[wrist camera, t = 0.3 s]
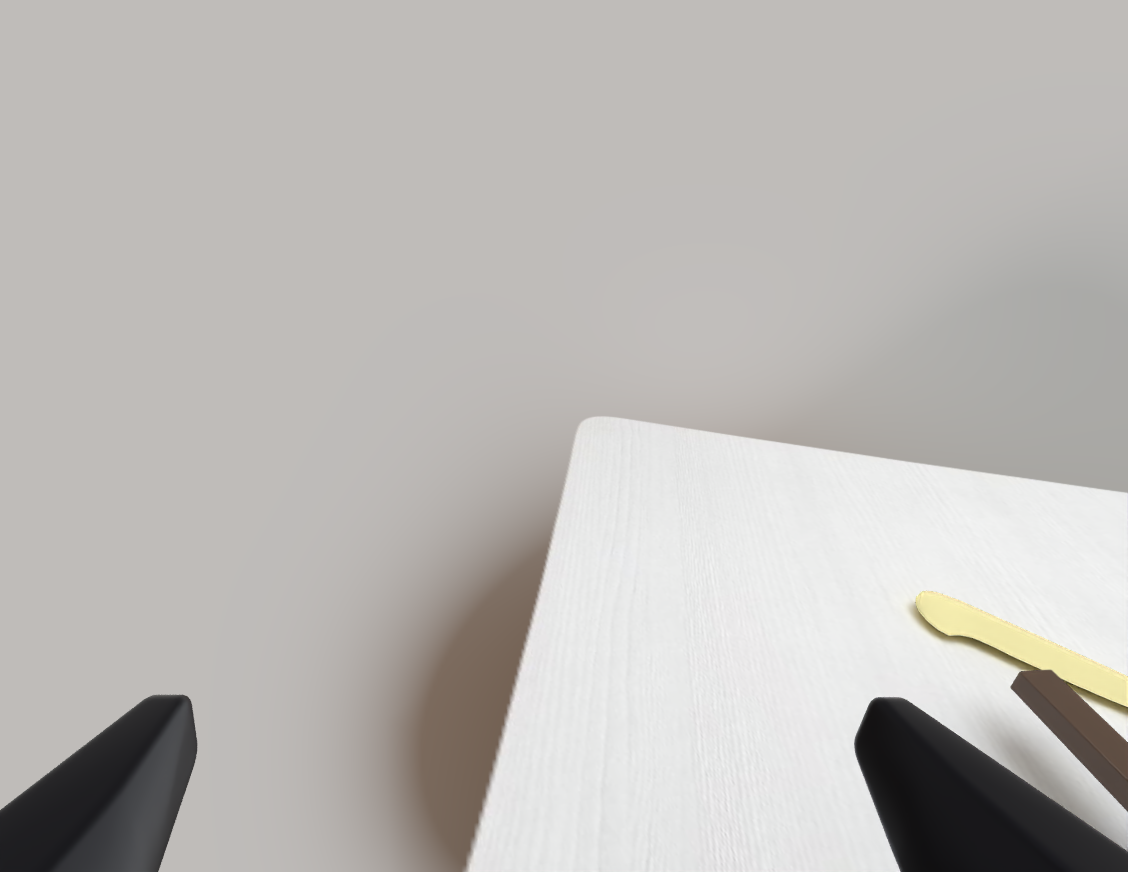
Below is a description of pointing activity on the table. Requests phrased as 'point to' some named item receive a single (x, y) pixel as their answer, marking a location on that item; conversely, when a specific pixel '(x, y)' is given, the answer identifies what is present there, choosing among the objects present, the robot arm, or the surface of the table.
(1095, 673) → the knife
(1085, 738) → the pan
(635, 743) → the table surface
